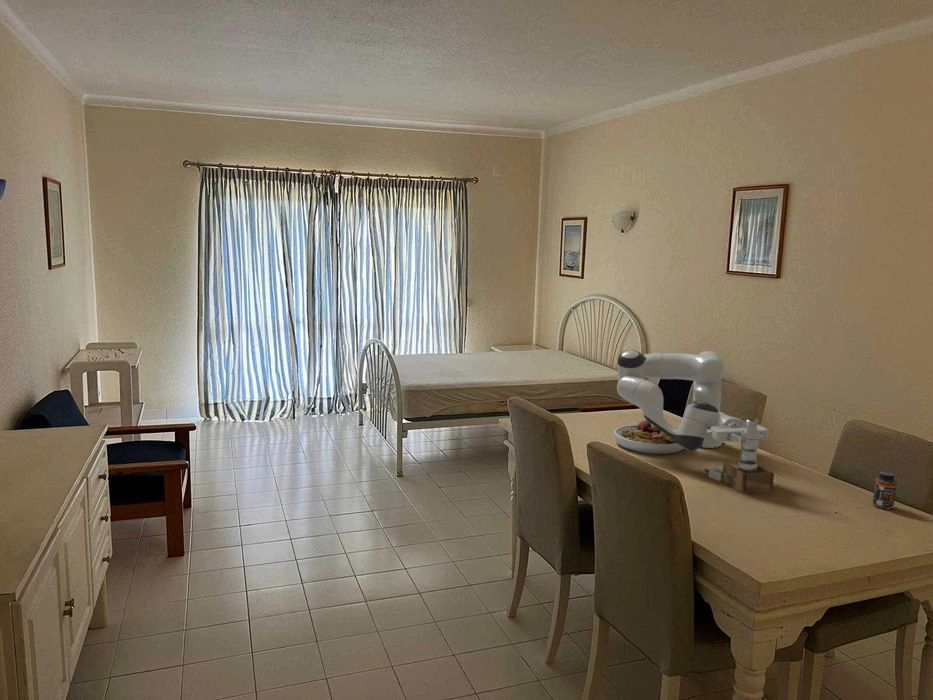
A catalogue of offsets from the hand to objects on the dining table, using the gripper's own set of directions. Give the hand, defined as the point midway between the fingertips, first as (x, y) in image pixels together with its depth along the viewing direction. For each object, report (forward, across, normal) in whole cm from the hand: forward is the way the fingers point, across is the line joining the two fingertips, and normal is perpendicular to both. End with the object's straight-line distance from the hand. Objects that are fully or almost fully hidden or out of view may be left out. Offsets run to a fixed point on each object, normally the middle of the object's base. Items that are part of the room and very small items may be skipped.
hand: (751, 439), depth 241 cm
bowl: (-53, -11, +18) cm, 57 cm away
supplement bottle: (+23, +34, +17) cm, 45 cm away
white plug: (-10, -6, +17) cm, 21 cm away
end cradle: (-1, 0, +17) cm, 17 cm away
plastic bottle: (-1, 0, +14) cm, 14 cm away
